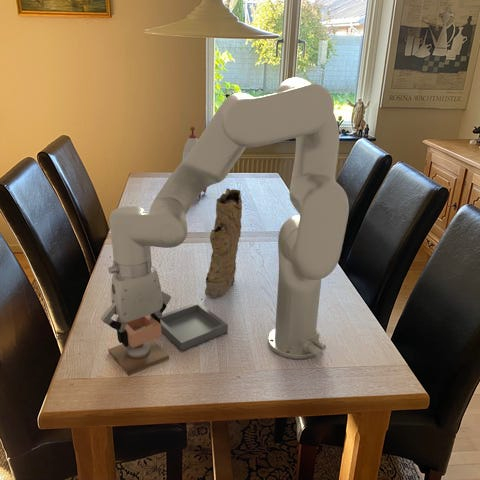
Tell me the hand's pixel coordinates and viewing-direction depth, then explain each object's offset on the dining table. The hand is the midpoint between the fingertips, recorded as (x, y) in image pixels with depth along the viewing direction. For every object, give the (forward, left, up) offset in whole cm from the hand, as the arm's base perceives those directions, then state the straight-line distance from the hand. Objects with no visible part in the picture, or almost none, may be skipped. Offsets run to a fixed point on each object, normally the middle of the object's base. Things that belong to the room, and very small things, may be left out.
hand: (140, 337), depth 109 cm
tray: (+2, -14, -5) cm, 15 cm away
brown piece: (0, +1, -5) cm, 5 cm away
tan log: (+12, -31, -5) cm, 34 cm away
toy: (+90, -71, -5) cm, 115 cm away
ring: (0, 0, +1) cm, 1 cm away
